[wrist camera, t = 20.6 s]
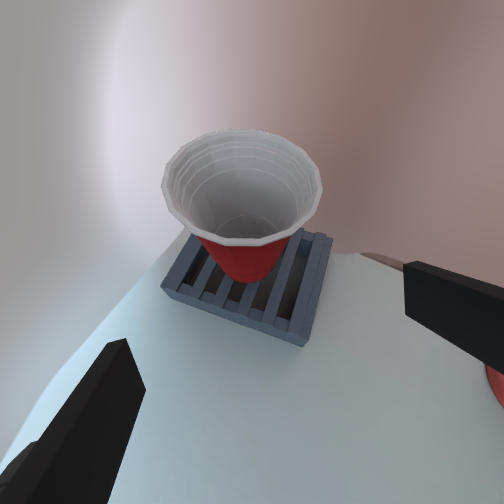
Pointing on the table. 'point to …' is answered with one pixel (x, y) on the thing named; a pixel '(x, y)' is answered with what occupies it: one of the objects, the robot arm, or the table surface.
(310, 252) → the dish rack
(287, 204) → the plastic cup
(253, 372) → the table surface
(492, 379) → the stacking bear
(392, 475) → the table surface
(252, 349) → the table surface
